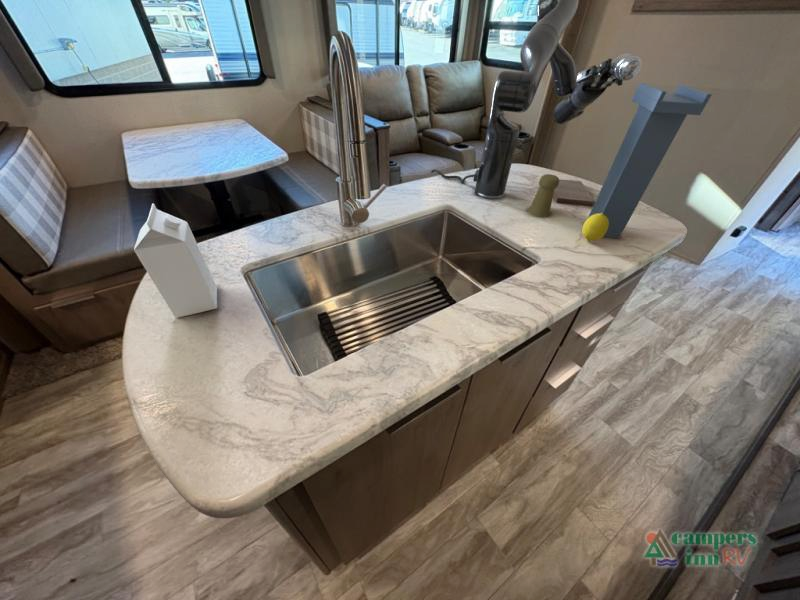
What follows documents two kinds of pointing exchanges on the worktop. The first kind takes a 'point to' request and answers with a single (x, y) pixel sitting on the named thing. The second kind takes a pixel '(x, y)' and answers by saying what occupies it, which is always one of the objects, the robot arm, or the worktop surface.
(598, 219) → the lemon
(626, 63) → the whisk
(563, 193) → the cutting board
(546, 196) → the olive green pawn
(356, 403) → the worktop surface
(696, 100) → the shelf stand
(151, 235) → the milk carton
